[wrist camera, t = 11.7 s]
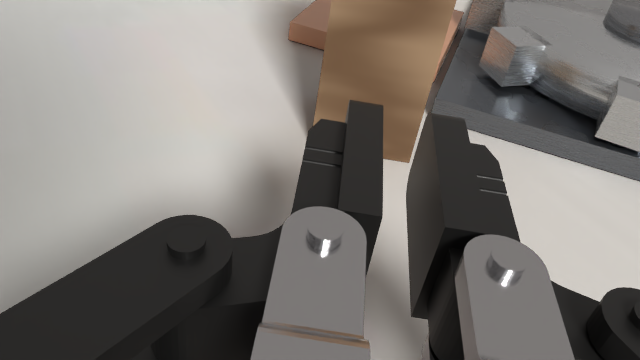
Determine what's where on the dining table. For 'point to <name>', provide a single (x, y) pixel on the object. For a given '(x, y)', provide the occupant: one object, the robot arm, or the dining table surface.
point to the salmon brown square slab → (315, 23)
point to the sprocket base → (524, 114)
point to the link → (383, 63)
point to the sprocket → (569, 56)
